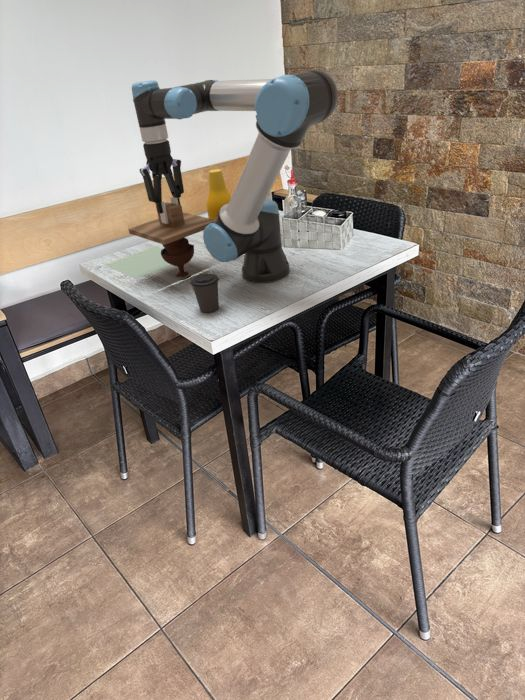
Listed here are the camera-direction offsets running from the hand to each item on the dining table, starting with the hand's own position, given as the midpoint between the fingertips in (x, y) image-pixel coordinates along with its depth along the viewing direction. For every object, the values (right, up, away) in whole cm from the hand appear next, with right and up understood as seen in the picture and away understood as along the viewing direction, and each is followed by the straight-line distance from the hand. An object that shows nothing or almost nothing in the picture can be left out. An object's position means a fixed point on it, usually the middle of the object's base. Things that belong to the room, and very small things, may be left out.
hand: (171, 220), depth 164 cm
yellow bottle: (+16, -7, +22) cm, 28 cm away
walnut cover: (0, -2, +1) cm, 3 cm away
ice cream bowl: (+2, -16, +10) cm, 19 cm away
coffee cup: (+13, -29, -14) cm, 35 cm away
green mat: (-13, -9, +24) cm, 29 cm away
